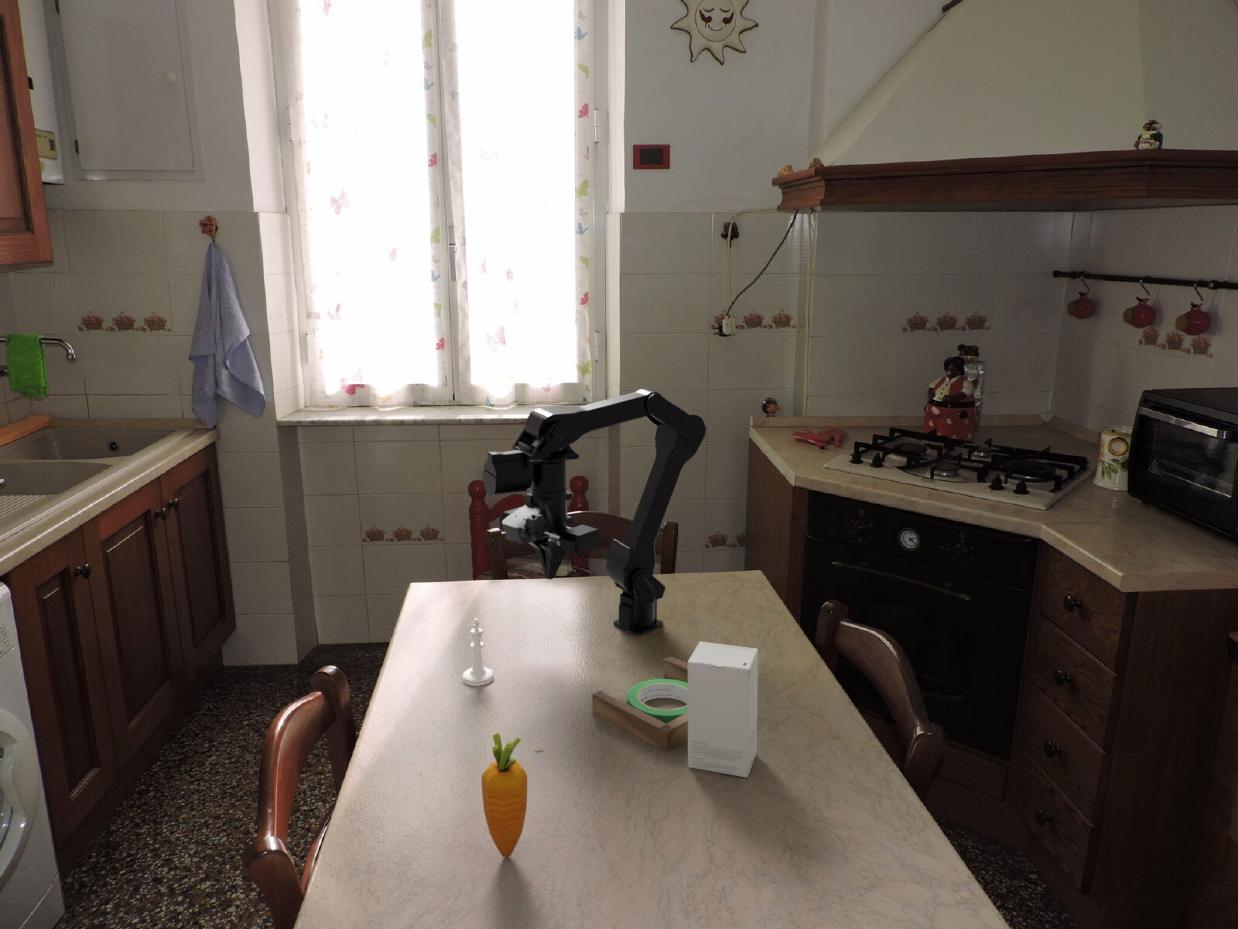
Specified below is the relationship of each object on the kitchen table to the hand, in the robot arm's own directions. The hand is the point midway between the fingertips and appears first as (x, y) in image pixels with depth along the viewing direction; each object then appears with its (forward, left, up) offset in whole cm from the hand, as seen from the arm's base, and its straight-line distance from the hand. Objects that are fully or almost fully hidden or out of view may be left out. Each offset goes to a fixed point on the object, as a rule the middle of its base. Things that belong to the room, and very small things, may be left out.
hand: (550, 578), depth 151 cm
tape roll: (+2, +28, -12) cm, 30 cm away
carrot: (+39, +37, -12) cm, 55 cm away
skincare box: (+7, +42, -12) cm, 44 cm away
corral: (+2, +27, -12) cm, 30 cm away
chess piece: (+16, +1, -12) cm, 20 cm away
